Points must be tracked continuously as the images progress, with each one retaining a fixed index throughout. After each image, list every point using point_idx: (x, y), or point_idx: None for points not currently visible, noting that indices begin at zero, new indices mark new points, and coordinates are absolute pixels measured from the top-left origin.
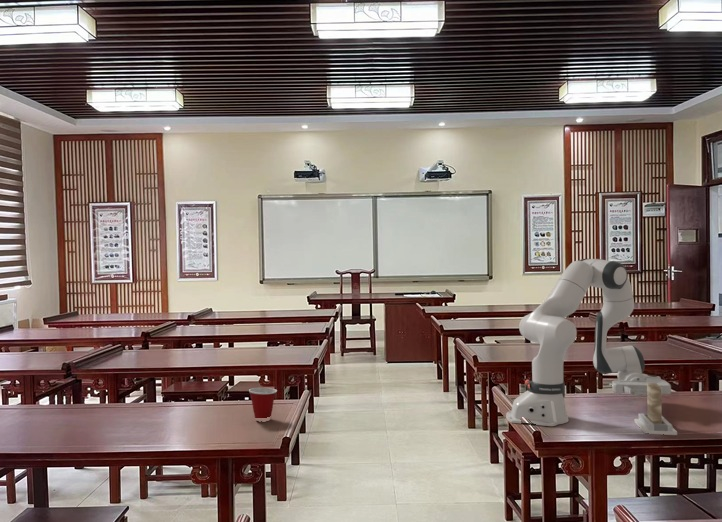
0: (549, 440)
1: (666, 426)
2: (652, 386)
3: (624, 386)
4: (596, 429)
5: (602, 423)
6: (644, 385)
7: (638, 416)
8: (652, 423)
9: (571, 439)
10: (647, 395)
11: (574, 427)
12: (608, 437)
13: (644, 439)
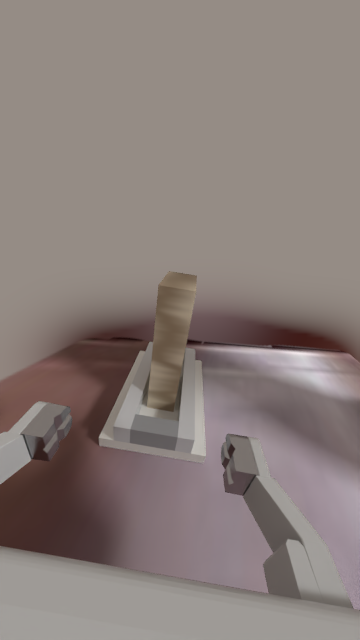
0: (344, 356)
1: None
2: (193, 275)
3: (335, 574)
4: (300, 395)
5: (304, 446)
6: (77, 563)
7: (192, 447)
8: (185, 353)
9: (317, 356)
10: (187, 336)
11: (354, 411)
12: (265, 358)
13: (208, 347)
